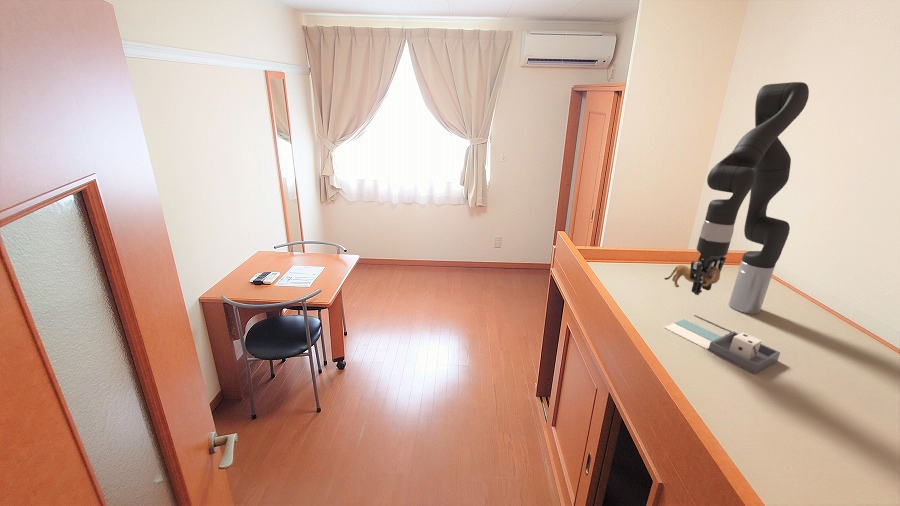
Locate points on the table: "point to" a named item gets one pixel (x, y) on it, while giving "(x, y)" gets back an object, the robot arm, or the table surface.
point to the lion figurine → (685, 271)
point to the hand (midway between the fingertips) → (700, 290)
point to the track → (694, 332)
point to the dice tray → (753, 365)
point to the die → (745, 345)
